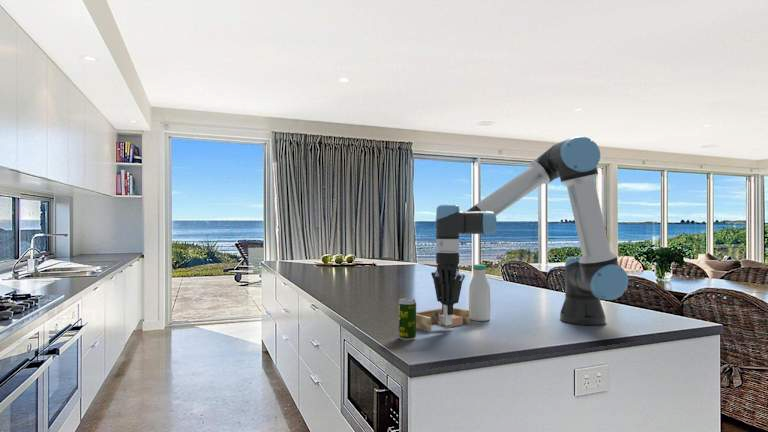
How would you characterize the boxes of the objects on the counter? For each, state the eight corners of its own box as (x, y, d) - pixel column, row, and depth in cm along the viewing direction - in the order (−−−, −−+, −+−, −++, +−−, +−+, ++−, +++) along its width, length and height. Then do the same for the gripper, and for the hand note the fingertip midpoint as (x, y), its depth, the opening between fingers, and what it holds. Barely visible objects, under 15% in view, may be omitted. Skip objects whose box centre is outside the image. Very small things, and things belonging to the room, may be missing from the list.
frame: (469, 323, 163) (469, 310, 163) (428, 331, 151) (428, 318, 151) (450, 318, 170) (450, 306, 170) (409, 326, 158) (409, 313, 158)
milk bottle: (490, 322, 165) (490, 266, 165) (468, 321, 167) (468, 265, 167) (490, 317, 173) (490, 264, 173) (469, 316, 174) (469, 263, 174)
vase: (430, 330, 153) (428, 311, 154) (441, 329, 157) (439, 311, 158) (443, 329, 149) (441, 310, 151) (453, 328, 153) (451, 309, 154)
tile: (462, 325, 161) (462, 317, 161) (449, 327, 158) (449, 319, 158) (451, 322, 166) (451, 314, 166) (438, 324, 163) (438, 315, 163)
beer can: (405, 335, 146) (405, 297, 146) (419, 338, 143) (419, 299, 143) (395, 338, 142) (395, 299, 142) (409, 341, 138) (409, 301, 139)
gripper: (425, 251, 154) (425, 322, 153) (454, 253, 144) (454, 329, 143) (441, 251, 159) (441, 320, 158) (470, 252, 149) (470, 326, 148)
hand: (447, 324), depth 151 cm, fingers closed
